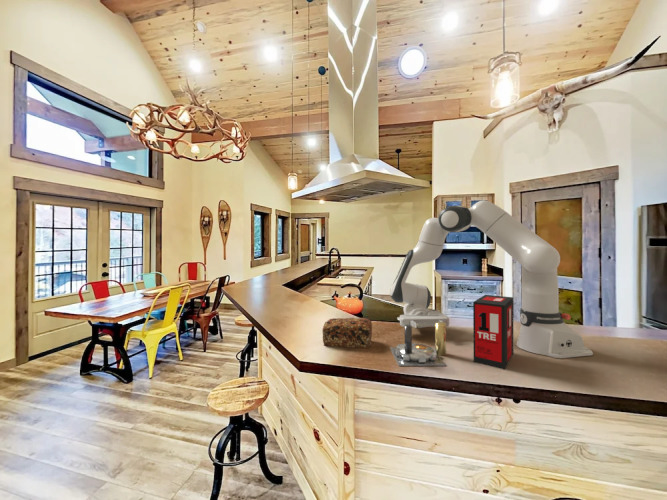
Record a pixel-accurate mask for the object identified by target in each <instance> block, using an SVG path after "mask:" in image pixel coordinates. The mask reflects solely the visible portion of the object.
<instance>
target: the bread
mask: <svg viewBox="0 0 667 500" xmlns="http://www.w3.org/2000/svg"><path fill="white" fill-rule="evenodd" d="M372 334H373V323H372V320H371V319H369V318H366V317H358V318H357V317H355V318H354V317H348V318H346V317H345V318H343V317H342V318H339V317H337V318H334V317H333V318H329V319H328V320H326V321H325V322H324V324H323V327H322V342H323V346H325V347H328V346H329V347H337V348H341V347H343V348H353V349H354V348H355V349H364V348H365V349H368V348H370V346H371V344H372V336H373V335H372Z"/></svg>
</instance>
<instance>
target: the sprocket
mask: <svg viewBox="0 0 667 500" xmlns="http://www.w3.org/2000/svg"><path fill="white" fill-rule="evenodd" d="M403 328H404V343H403V344H401V343H399V344H397V345H396V347H397V348H396V355H397V356H401V357H403V359H404V360H408V361H410V360H413V361H419V362H426V361H428V360H435V359H436V349H435V347H431V346H428V344H426V343H415V342H413V336H412V335H413V327H412V326H411V325H405V326H404V327H403Z"/></svg>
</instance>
